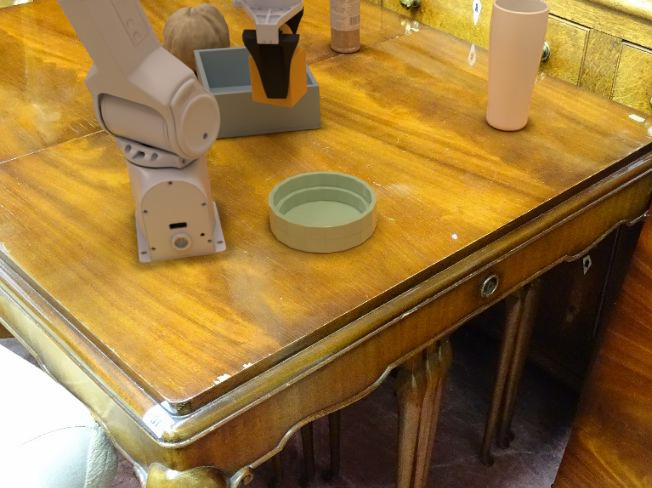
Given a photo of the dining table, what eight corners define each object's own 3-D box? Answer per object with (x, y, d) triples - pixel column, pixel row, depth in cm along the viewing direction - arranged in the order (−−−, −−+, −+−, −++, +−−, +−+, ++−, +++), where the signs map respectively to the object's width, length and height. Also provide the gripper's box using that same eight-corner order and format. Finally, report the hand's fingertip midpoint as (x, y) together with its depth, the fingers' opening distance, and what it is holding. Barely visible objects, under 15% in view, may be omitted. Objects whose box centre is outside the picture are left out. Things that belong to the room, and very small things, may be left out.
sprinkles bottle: (350, 41, 119) (348, -53, 110) (366, 50, 116) (366, -45, 107) (324, 46, 117) (321, -49, 108) (340, 56, 114) (338, -41, 105)
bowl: (389, 248, 76) (389, 218, 74) (281, 264, 73) (278, 233, 71) (361, 194, 84) (361, 166, 82) (262, 207, 81) (259, 177, 79)
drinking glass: (539, 133, 97) (558, 12, 88) (488, 136, 96) (501, 14, 87) (523, 110, 102) (539, -7, 93) (474, 113, 101) (485, -6, 92)
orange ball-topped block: (307, 91, 87) (303, 17, 81) (292, 107, 83) (287, 31, 78) (269, 85, 87) (263, 11, 82) (252, 101, 84) (244, 25, 79)
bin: (320, 128, 96) (319, 85, 92) (212, 139, 92) (206, 95, 89) (298, 82, 106) (295, 42, 102) (199, 91, 102) (193, 50, 99)
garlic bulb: (229, 79, 112) (246, 10, 107) (215, 93, 104) (233, 20, 100) (164, 54, 110) (179, -16, 105) (146, 68, 103) (161, -8, 98)
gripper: (236, -68, 81) (249, 59, 90) (217, -27, 70) (234, 113, 79) (304, -66, 82) (310, 60, 90) (295, -24, 71) (303, 115, 79)
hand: (279, 85), depth 85 cm, fingers closed on orange ball-topped block, 5 cm apart
